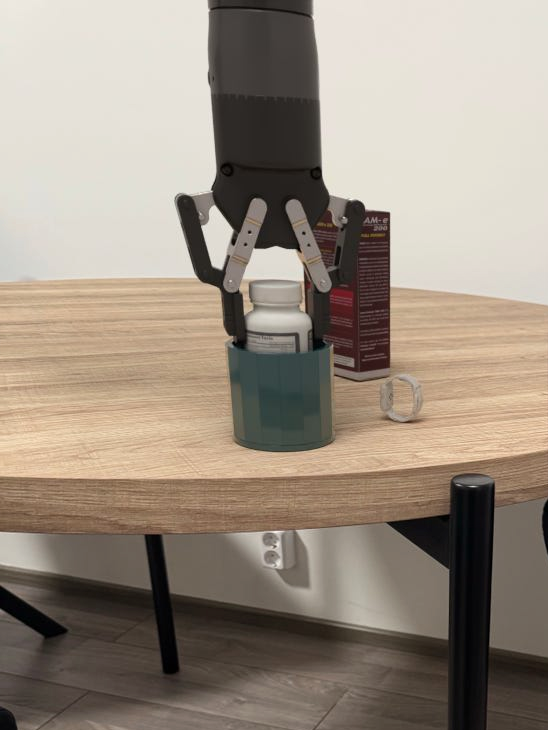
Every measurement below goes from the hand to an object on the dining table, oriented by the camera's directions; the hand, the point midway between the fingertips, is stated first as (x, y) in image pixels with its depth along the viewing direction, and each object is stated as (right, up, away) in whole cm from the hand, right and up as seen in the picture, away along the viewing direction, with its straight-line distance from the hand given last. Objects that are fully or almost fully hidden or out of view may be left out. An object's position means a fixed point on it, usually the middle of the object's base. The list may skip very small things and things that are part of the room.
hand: (278, 340), depth 74 cm
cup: (0, -7, +4) cm, 8 cm away
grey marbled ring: (+9, -4, +10) cm, 14 cm away
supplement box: (+2, +5, +26) cm, 27 cm away
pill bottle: (0, -5, +3) cm, 6 cm away
